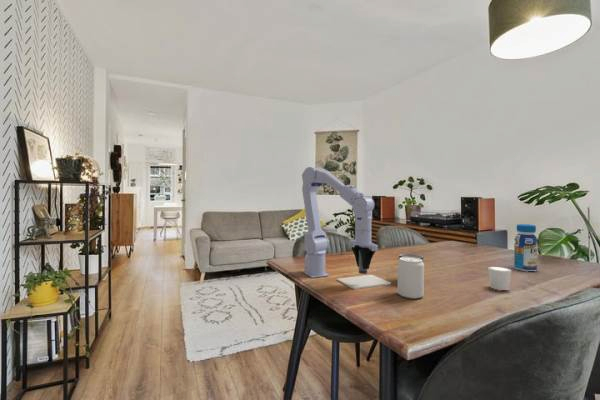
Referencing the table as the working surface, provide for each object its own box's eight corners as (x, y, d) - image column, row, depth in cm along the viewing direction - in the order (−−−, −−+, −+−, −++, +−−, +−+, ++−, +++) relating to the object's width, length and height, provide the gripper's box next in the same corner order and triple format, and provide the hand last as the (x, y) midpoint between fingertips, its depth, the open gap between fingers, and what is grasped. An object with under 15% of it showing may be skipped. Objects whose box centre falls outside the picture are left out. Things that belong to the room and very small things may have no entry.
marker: (356, 272, 108) (357, 250, 108) (364, 271, 109) (364, 249, 109) (361, 274, 105) (362, 251, 105) (369, 273, 106) (369, 251, 106)
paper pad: (337, 280, 115) (337, 278, 115) (371, 276, 121) (371, 274, 121) (354, 289, 104) (354, 287, 104) (391, 284, 110) (391, 282, 110)
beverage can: (421, 301, 92) (421, 263, 92) (394, 296, 97) (395, 259, 96) (425, 294, 99) (426, 258, 99) (400, 289, 103) (401, 255, 103)
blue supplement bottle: (516, 266, 138) (516, 223, 138) (539, 269, 132) (540, 224, 131) (511, 269, 132) (512, 224, 132) (535, 273, 126) (536, 226, 126)
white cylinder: (507, 286, 108) (507, 267, 108) (514, 292, 101) (514, 271, 101) (485, 284, 110) (485, 265, 110) (490, 290, 104) (491, 270, 104)
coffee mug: (425, 285, 108) (425, 258, 108) (400, 284, 110) (400, 257, 109) (419, 277, 119) (419, 252, 119) (396, 276, 121) (396, 251, 121)
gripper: (343, 228, 112) (343, 264, 112) (365, 233, 99) (365, 273, 99) (359, 227, 115) (358, 262, 115) (383, 232, 101) (382, 271, 102)
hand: (363, 267), depth 107 cm, fingers closed on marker, 3 cm apart
